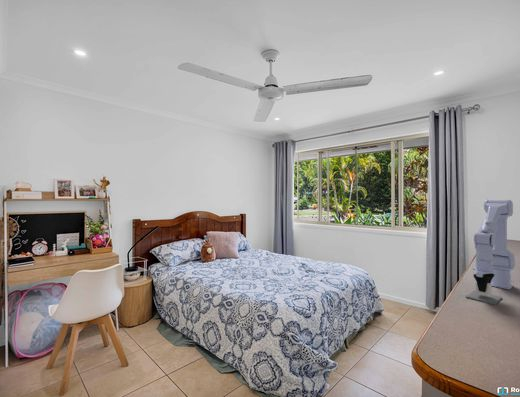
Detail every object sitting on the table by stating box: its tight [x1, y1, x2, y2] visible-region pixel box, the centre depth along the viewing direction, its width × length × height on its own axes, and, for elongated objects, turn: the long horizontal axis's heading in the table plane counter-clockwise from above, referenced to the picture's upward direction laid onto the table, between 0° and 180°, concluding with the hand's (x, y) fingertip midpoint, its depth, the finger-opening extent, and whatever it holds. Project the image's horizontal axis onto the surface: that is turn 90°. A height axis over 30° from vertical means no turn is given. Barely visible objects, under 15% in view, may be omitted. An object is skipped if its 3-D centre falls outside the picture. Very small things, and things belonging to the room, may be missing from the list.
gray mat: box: [465, 290, 503, 306], centre depth 120 cm, size 12×10×1 cm
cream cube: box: [475, 282, 493, 296], centre depth 120 cm, size 4×4×4 cm
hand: (483, 290), depth 120 cm, fingers closed on cream cube, 4 cm apart
